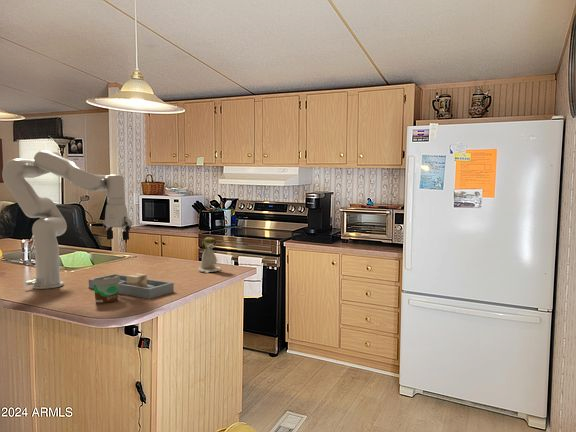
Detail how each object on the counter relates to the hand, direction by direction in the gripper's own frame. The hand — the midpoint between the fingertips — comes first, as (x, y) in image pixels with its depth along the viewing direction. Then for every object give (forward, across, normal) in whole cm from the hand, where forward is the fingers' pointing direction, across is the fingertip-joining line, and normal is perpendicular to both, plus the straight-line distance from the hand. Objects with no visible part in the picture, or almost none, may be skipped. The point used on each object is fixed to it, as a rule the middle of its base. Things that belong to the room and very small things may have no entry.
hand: (118, 239), depth 204 cm
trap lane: (+22, +9, -3) cm, 24 cm away
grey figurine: (+23, +16, +49) cm, 56 cm away
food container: (+22, +17, -22) cm, 35 cm away
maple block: (+20, +13, -3) cm, 24 cm away
